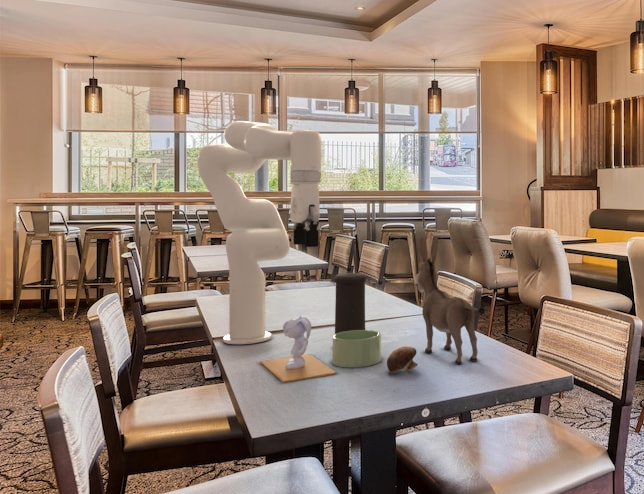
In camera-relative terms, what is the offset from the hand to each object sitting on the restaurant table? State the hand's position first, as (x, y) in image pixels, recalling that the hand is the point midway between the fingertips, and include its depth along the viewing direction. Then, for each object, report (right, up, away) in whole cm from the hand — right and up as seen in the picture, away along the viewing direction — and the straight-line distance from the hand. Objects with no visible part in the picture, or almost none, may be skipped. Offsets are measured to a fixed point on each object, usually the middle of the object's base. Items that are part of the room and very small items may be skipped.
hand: (305, 245), depth 159 cm
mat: (+2, -28, -11) cm, 30 cm away
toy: (+36, -28, 0) cm, 46 cm away
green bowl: (+14, -28, -5) cm, 32 cm away
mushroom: (+27, -28, -15) cm, 42 cm away
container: (+9, -29, +9) cm, 31 cm away
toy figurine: (+1, -28, -11) cm, 30 cm away
